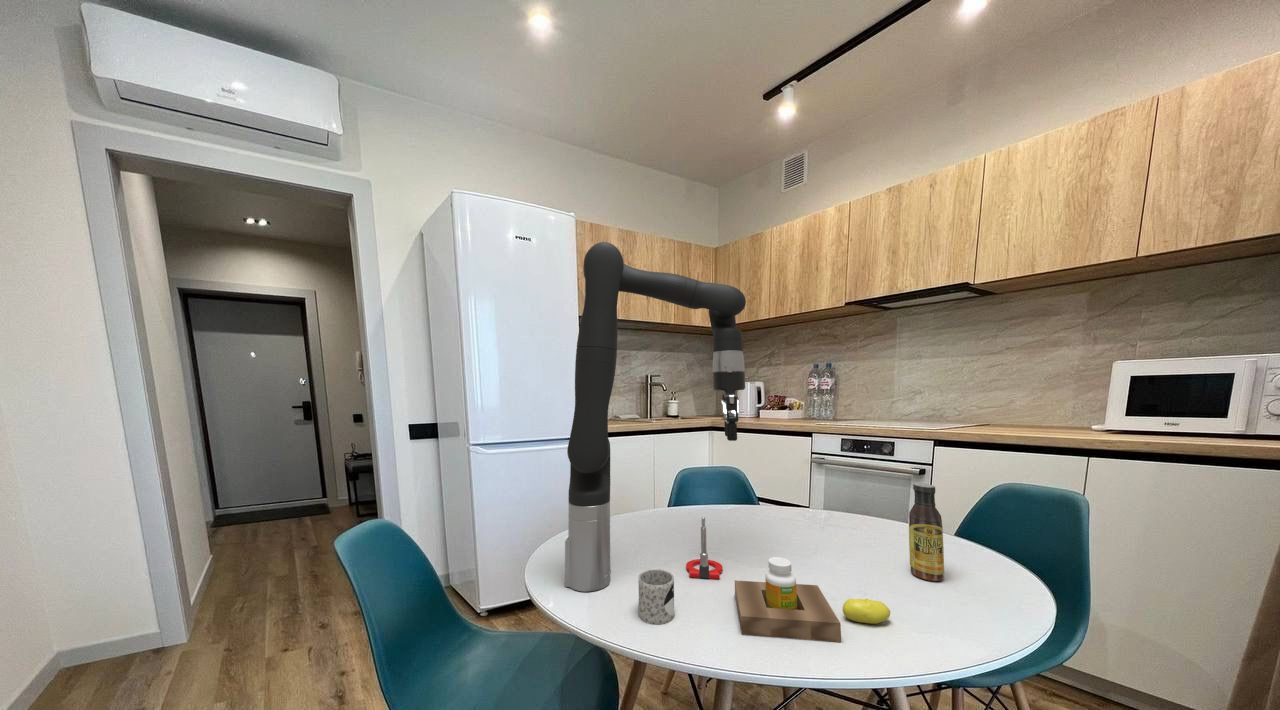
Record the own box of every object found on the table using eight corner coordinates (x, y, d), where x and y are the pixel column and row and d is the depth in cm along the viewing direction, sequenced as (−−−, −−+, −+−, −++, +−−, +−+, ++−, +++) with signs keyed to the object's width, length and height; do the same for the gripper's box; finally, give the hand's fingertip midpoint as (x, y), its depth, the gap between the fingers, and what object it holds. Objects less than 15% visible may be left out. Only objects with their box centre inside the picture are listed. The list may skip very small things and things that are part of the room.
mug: (673, 626, 70) (672, 587, 71) (636, 623, 71) (635, 584, 72) (676, 597, 80) (676, 563, 81) (644, 595, 81) (643, 561, 82)
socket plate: (741, 634, 68) (741, 616, 68) (734, 595, 80) (734, 580, 81) (841, 642, 65) (840, 623, 65) (818, 601, 78) (817, 585, 78)
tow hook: (686, 562, 97) (685, 578, 88) (686, 507, 99) (684, 517, 90) (721, 565, 96) (723, 581, 87) (720, 509, 98) (722, 519, 89)
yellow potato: (839, 613, 74) (838, 591, 74) (886, 617, 72) (885, 594, 73) (846, 626, 70) (845, 602, 70) (896, 630, 68) (895, 607, 69)
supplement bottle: (782, 628, 69) (780, 570, 70) (760, 613, 74) (758, 559, 75) (804, 619, 72) (801, 563, 73) (781, 605, 76) (779, 553, 77)
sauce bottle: (914, 580, 86) (907, 486, 88) (907, 568, 92) (901, 480, 94) (951, 585, 84) (943, 488, 85) (941, 573, 89) (934, 482, 91)
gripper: (712, 372, 104) (713, 435, 102) (713, 369, 90) (716, 442, 88) (741, 371, 103) (743, 435, 101) (748, 368, 89) (750, 442, 87)
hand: (730, 438), depth 95 cm, fingers open, 8 cm apart
